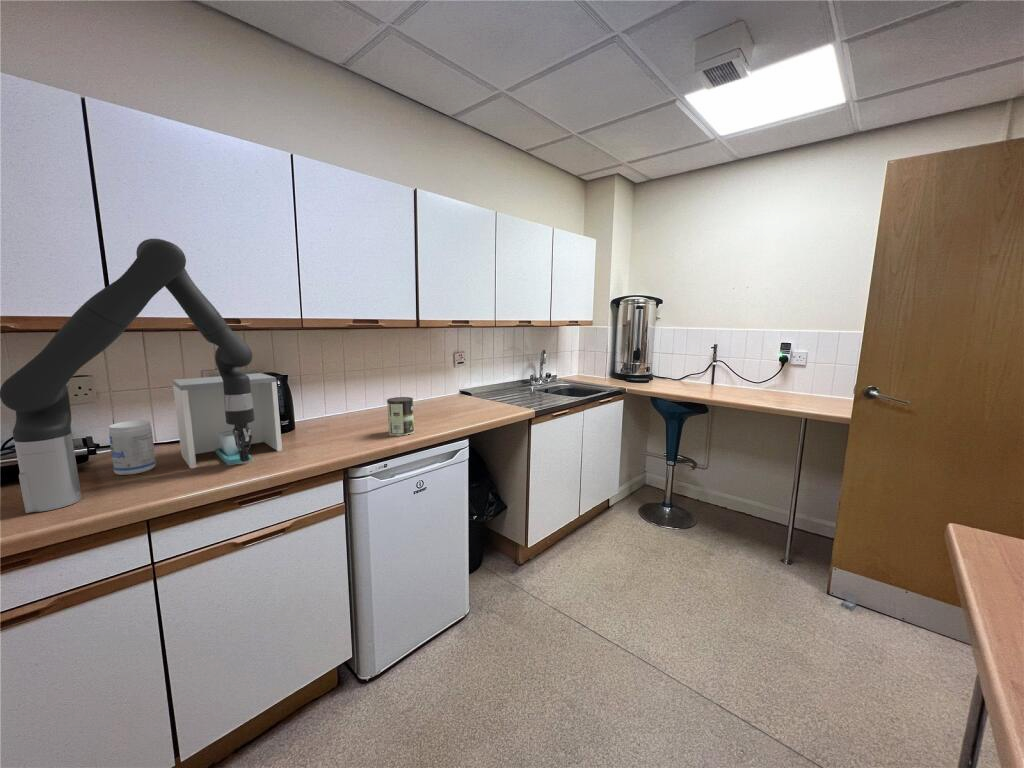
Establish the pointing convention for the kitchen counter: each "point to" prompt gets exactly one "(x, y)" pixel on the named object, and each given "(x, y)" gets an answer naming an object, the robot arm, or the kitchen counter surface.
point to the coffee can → (400, 416)
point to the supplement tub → (132, 447)
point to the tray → (230, 458)
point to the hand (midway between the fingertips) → (244, 460)
